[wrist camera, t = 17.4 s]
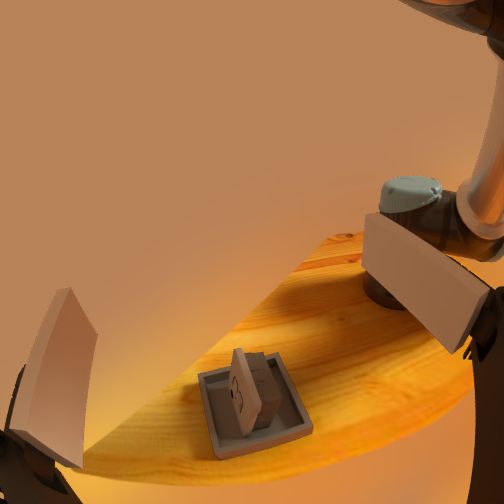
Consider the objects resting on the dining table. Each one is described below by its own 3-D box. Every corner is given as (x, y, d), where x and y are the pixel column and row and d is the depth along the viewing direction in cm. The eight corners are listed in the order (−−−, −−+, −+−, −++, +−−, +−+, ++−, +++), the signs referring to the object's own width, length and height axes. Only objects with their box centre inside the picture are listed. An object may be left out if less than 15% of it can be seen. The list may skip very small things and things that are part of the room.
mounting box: (279, 363, 41) (278, 352, 40) (312, 433, 29) (313, 425, 28) (202, 384, 39) (197, 373, 37) (220, 460, 27) (214, 454, 26)
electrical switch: (227, 387, 37) (220, 348, 33) (261, 380, 38) (260, 340, 34) (243, 440, 29) (238, 410, 25) (281, 430, 30) (286, 398, 26)
